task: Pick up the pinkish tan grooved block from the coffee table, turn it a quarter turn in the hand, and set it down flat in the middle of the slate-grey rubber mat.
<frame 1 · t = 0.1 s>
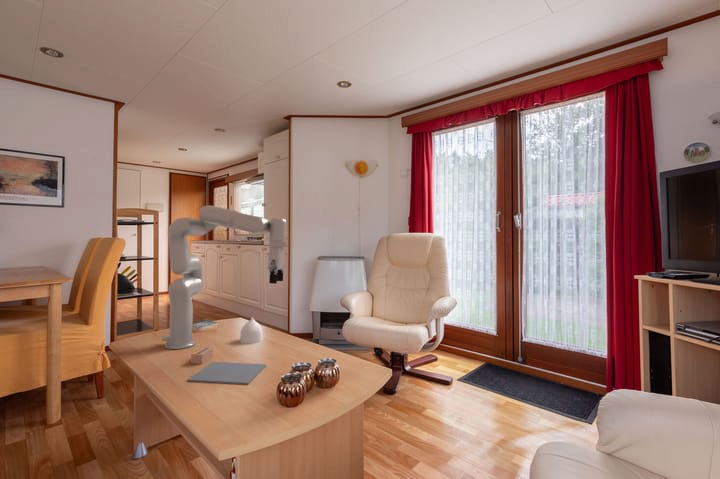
hand: (276, 282, 155), 31 cm above the table, tool pointing down, fingers open, 9 cm apart
mat: (229, 373, 126), on the table
white rounded dome: (251, 340, 169), on the table
pinkish tan grooved block: (202, 360, 139), on the table
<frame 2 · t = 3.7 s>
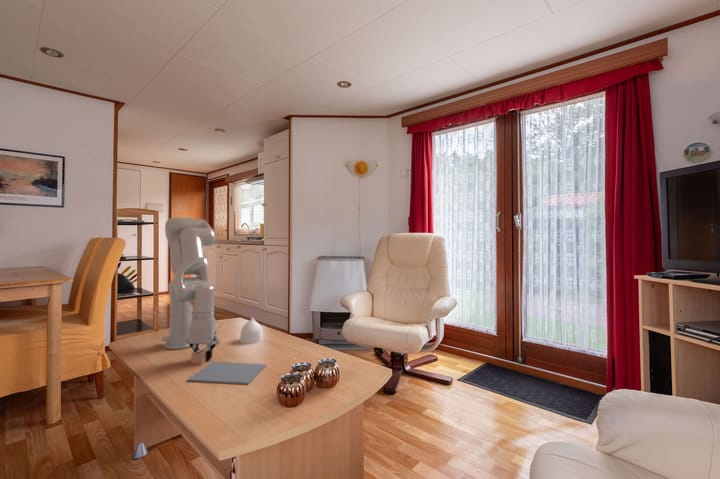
hand: (202, 358, 139), 0 cm above the table, tool pointing down, fingers closed on pinkish tan grooved block, 4 cm apart
pinkish tan grooved block: (202, 360, 139), on the table, touching gripper
everything else where it was.
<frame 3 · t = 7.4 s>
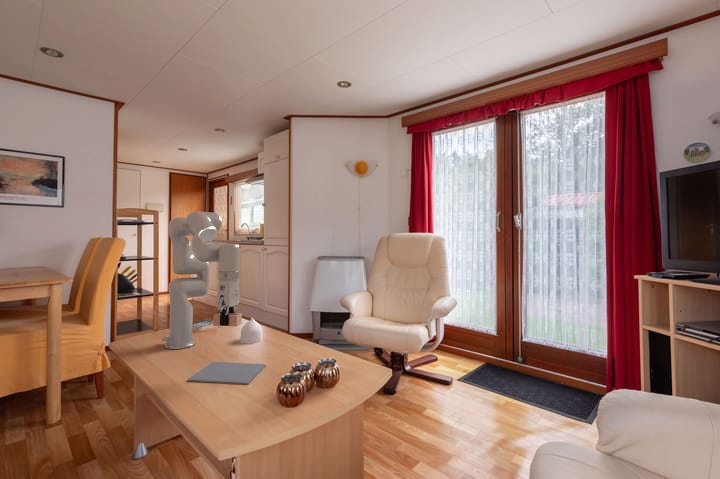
hand: (227, 323, 128), 18 cm above the table, tool pointing down, fingers closed on pinkish tan grooved block, 4 cm apart
pinkish tan grooved block: (227, 324, 128), point 18 cm above the table, touching gripper
everything else where it was.
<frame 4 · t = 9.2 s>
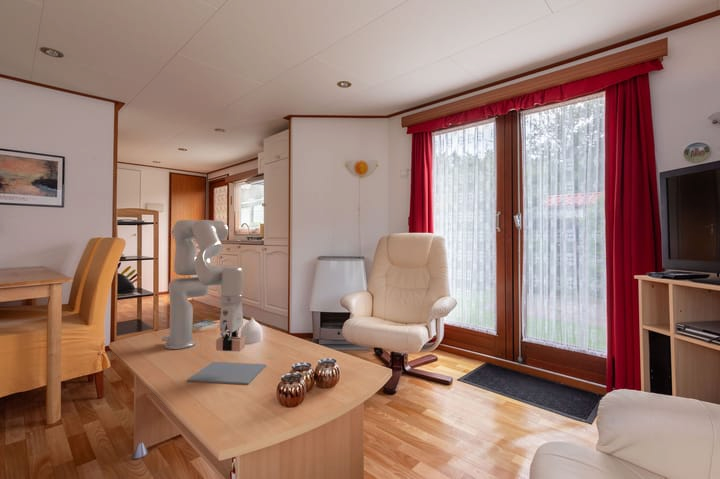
hand: (230, 347, 126), 9 cm above the table, tool pointing down, fingers closed on pinkish tan grooved block, 4 cm apart
pinkish tan grooved block: (230, 349, 126), point 9 cm above the table, touching gripper
everything else where it was.
when the fingers open (2 cm above the table, at t = 10.8 s): pinkish tan grooved block drops 1 cm, resting on mat.
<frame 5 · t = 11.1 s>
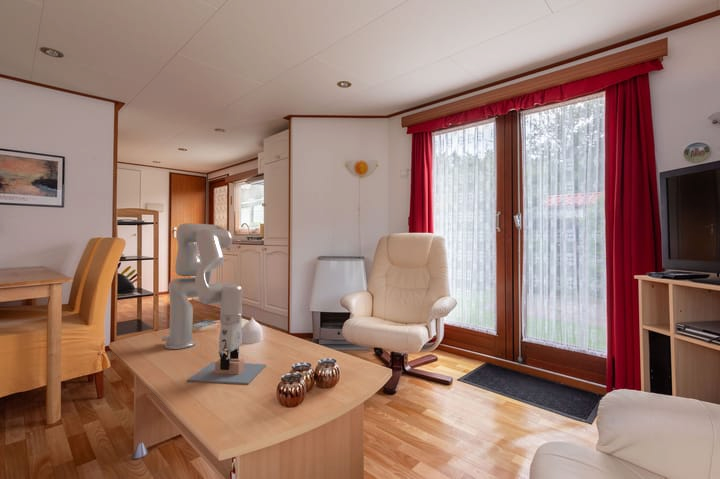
hand: (229, 365, 126), 3 cm above the table, tool pointing down, fingers open, 7 cm apart
pinkish tan grooved block: (229, 371, 127), point 1 cm above the table, touching mat
everything else where it was.
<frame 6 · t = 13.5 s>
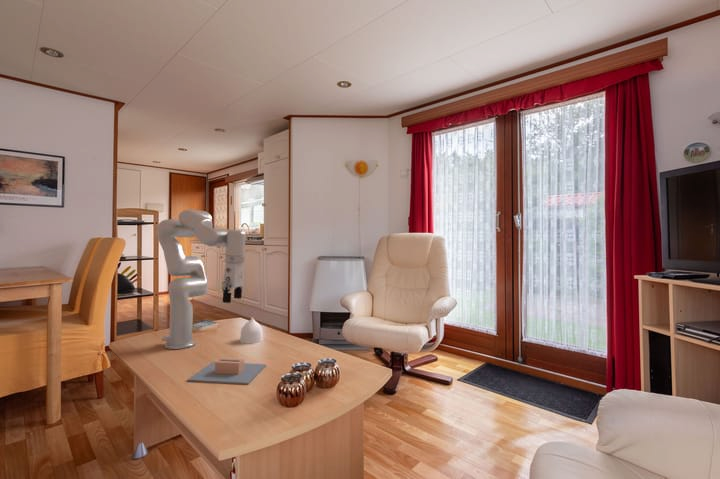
hand: (232, 300, 141), 25 cm above the table, tool pointing down, fingers open, 9 cm apart
nothing on the table moved.
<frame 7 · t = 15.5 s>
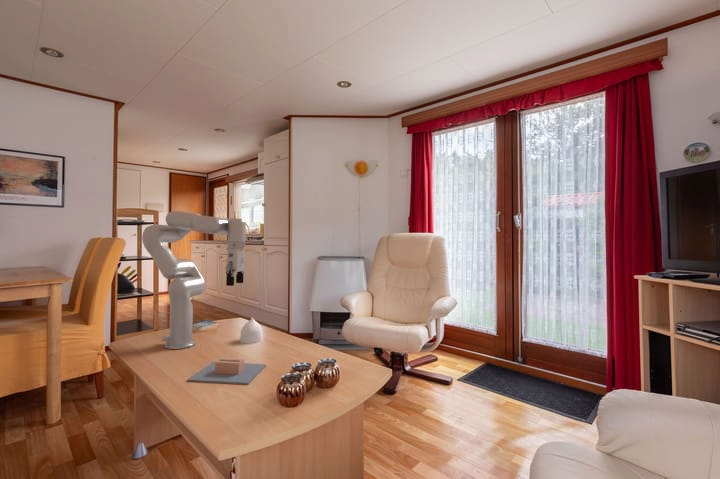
hand: (235, 284, 150), 30 cm above the table, tool pointing down, fingers open, 9 cm apart
nothing on the table moved.
at the end: pinkish tan grooved block inside the target area on the mat (0.1 cm from its centre), point 0.6 cm above the mat's base; pinkish tan grooved block tilted 0°; the gripper is holding nothing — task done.
